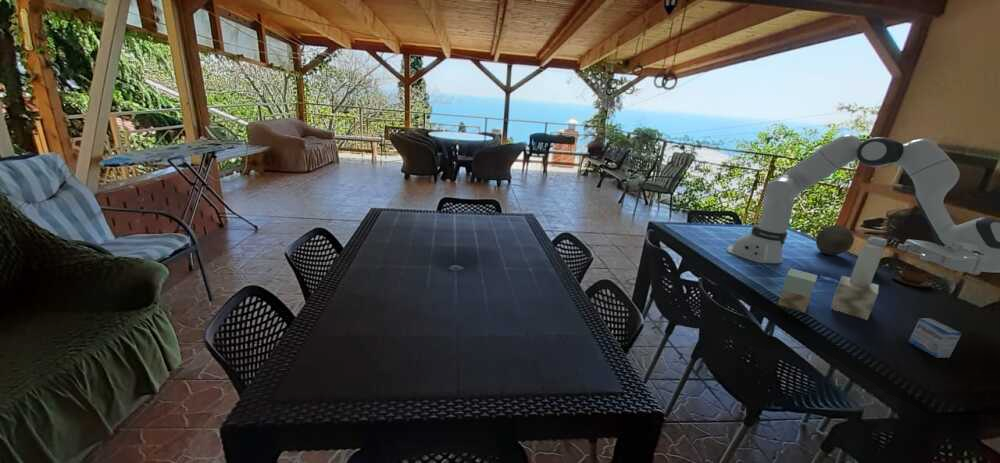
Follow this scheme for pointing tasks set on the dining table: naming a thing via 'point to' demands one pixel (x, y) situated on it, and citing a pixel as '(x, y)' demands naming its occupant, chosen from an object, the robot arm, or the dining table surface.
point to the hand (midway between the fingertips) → (910, 251)
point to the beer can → (877, 242)
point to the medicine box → (934, 338)
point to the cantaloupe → (834, 240)
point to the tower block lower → (794, 301)
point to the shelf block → (854, 298)
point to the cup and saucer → (913, 277)
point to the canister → (866, 265)
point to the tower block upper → (799, 282)
